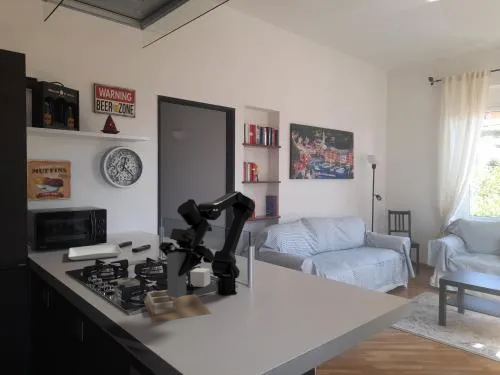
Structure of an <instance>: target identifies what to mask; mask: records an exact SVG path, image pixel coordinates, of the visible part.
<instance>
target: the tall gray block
mask: <svg viewBox="0 0 500 375" xmlns="http://www.w3.org/2000/svg"><path fill="white" fill-rule="evenodd" d="M166 259H167V260H166V262H167V263H166V264H167V266H166V267H167V268H166V269H167V271H166V272H167V273H166V274H167V279H166V280H167V290H168V296H171V297H176V298H179V297H181V296H186V295H187V272H186V273H185V274H183V275H182V276H181V277H180V276H179V275H178V273H179V271H180V269H181V267H182V265H183V263H184V261H185V259H186V253H184V252H172V253H169V254H167V257H166Z"/></svg>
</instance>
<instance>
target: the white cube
mask: <svg viewBox="0 0 500 375" xmlns="http://www.w3.org/2000/svg"><path fill="white" fill-rule="evenodd" d="M189 271H190V285H191V284H192V285H193V286H192V287H198V288H199V287H201V288H205V287H206V286H208V285H210V284H211V268H204V267H196V268H194V269H192V270H189Z"/></svg>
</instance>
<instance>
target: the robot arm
mask: <svg viewBox="0 0 500 375" xmlns="http://www.w3.org/2000/svg"><path fill="white" fill-rule="evenodd" d="M230 207H231V208H232V213H233V214H232V215H233V219H232V221H231V224H230V226H229V229H228V232H227V236H226V238H225V240H224V243H223V247H222V249H220V250H215V251H214V253H213V252H212V250H211V249H210V248H209V246H208V245H204V243H205V241H204V238H205V236H206V234H207V232H212V231H213V228H212V224H211V223H209V221H217V219H218V218H219V217H221V216H222V212H223V211H225V210H226V209H227V208H230ZM255 209H256V203H255V201H253V199H251V198H250V197H249V196H247V195H245V194H243V193H242V192H241V191H238V190H237V191H236V190H234V191H233V190H230V191H228V192H227V193H226V194H224V195H222V196H220V197H219V198H217V199H215V200H213V201H206V202H201V203H199V204H198V205H197V203H196V201H195V199H193V198H189V199H187V201H185V202H183V203H181V205H179V206H178V208H177V209H176V211H177V213H178V215H179V217H180V218H181V219H182V221H184V223H185V224H186V225H187V226H189V228H188V227H187V228H186V229H181V228H172V230H171V232H170V236H169V239H170V240H174V241H176V242H175V244H176V245H177V246H176V245H175V244H174V243H173V242H170V241H162V242H161V243H160V245H159V246H158V249H159V250H160V251H161V252H162V253H163V255H164V256H165V257H166V258H167V254H169V253H172V252H184V253H186V259H185V261H184V263H183V265H182V267H181V269H180V271H179V273H178V275H179V276H180V277H181V276H182V275H183V274H185V273H186V274H187V272H189V271H191V269H192V270H193V268H195V267H196V266H198V265H201V264H202V260H203V263H206V264H211V267H210V268H211V271H212V275H213V277H216V278H217V279H216V281H215V292H216V293H217V294H218V295H219V296H221V297H222V296H223V297H224V296H231V295H237V294H238V292H237V291H236V288H237V287H236V284H237V283H236V282H237V281H236V279H238V277H239V276H240V271H241V270H240V269H239V268H238V266H237V265H236V264H237V259H236V255H235V253H236V250H237V248H238V244H239V241H240V238H241V236H242V233H243V231H244V227H245V225H246V221H248V220H249V219H251V217H252V216H253V214H254V212H255Z"/></svg>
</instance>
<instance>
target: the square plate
mask: <svg viewBox="0 0 500 375" xmlns="http://www.w3.org/2000/svg"><path fill="white" fill-rule="evenodd" d="M122 253H123V250H122V249H121V248H120V246H119V244H117V243H116V244H97V245H87V246H78V247H77V246H76V247H70V248H69V249H68V259H69V260H72V261H85V260H95V259H98V260H99V259H107V258H114V257H115V258H116V257H118V256H120V255H121V254H122Z"/></svg>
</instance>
